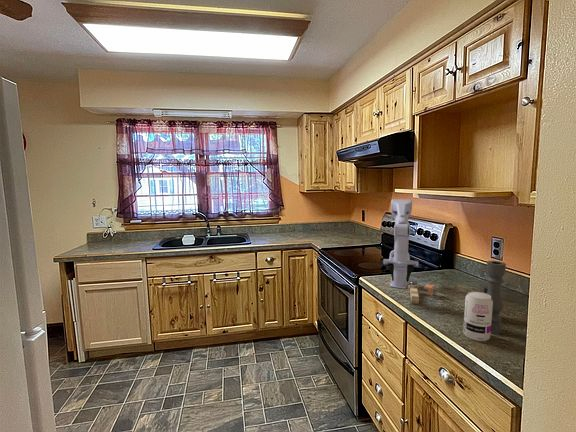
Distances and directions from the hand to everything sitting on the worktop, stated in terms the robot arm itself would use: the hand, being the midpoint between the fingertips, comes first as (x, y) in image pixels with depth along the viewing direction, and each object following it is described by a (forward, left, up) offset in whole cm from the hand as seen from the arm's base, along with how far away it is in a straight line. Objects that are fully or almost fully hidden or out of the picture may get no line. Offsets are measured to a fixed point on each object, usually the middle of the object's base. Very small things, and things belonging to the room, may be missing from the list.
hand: (399, 280), depth 144 cm
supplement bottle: (+1, +34, -10) cm, 36 cm away
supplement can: (+21, +29, -10) cm, 37 cm away
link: (-7, +5, -9) cm, 13 cm away
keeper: (-13, +11, -9) cm, 19 cm away
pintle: (-13, +4, -9) cm, 17 cm away
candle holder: (+13, +34, -10) cm, 38 cm away
